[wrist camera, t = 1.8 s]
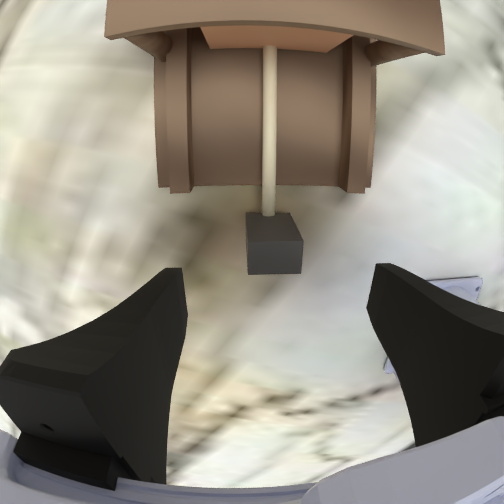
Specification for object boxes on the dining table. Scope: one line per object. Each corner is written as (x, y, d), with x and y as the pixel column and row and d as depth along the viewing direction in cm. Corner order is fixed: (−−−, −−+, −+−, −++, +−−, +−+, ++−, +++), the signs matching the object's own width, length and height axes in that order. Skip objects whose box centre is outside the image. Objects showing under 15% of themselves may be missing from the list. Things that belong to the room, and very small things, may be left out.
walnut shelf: (364, 183, 18) (431, 228, 11) (162, 183, 17) (115, 231, 10) (363, -24, 12) (422, -75, 5) (163, -33, 11) (126, -96, 4)
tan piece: (318, 238, 18) (344, 282, 13) (214, 239, 17) (206, 285, 13) (323, -23, 11) (351, -62, 7) (212, -28, 11) (202, -73, 6)
